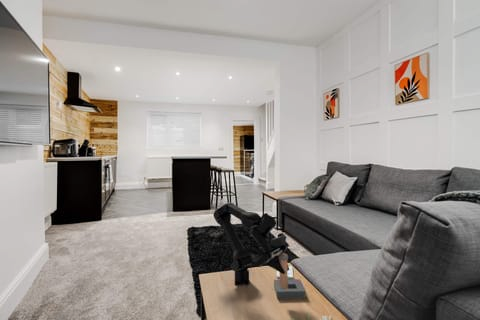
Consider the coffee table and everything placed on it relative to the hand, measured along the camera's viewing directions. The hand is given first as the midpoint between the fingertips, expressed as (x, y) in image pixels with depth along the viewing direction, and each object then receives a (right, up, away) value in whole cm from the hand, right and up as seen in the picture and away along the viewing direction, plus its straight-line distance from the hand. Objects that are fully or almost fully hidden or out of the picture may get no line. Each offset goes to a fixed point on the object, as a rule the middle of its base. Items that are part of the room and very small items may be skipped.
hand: (286, 271), depth 97 cm
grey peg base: (+3, -13, +9) cm, 16 cm away
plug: (-1, -7, +1) cm, 7 cm away
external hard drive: (+4, -14, +27) cm, 30 cm away
